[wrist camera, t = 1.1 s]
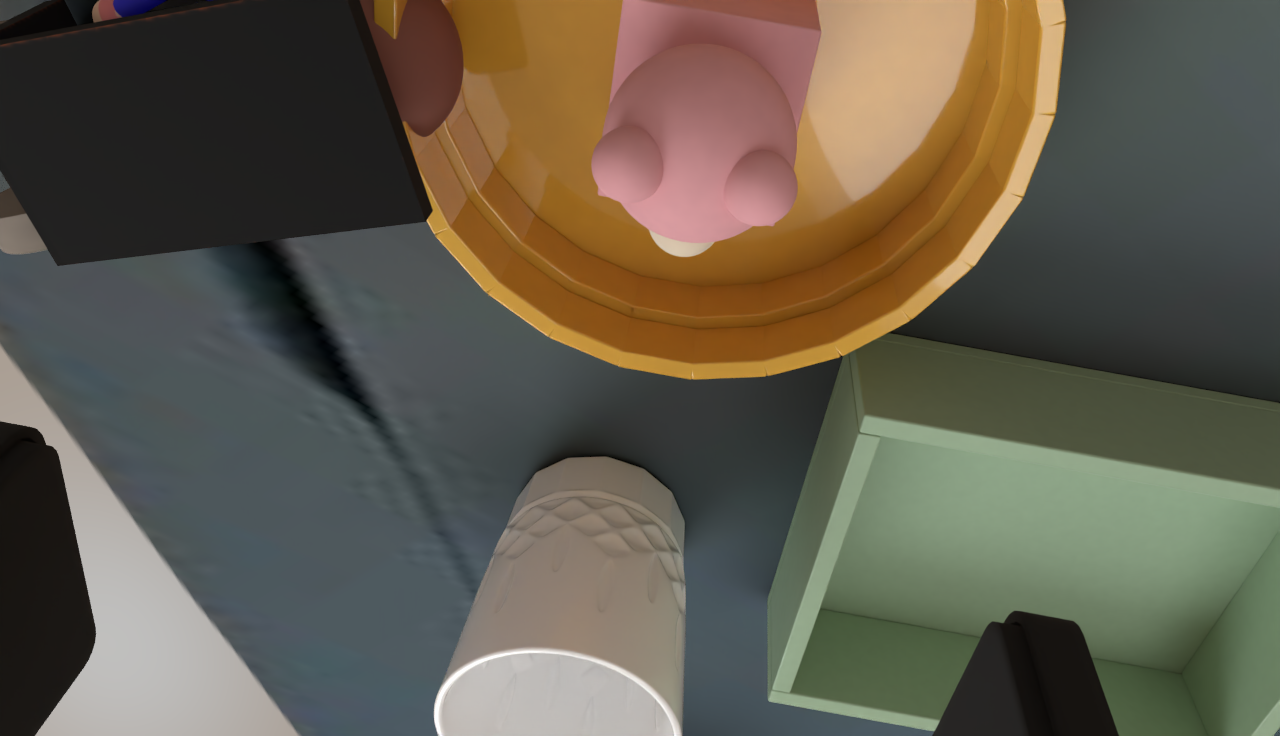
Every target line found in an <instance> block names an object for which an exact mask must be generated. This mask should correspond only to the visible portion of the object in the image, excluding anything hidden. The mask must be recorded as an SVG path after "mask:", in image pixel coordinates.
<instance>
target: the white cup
mask: <svg viewBox="0 0 1280 736" xmlns="http://www.w3.org/2000/svg"><path fill="white" fill-rule="evenodd" d="M684 534H685V521H684V518H683V516H682V514H681V512H680V509H679V507H678V505H677V502H676V500H675V498H674V496H673V493H672V492H671V491H670V490H669V489H668V488H667V487H665V486H664V485H663V484H662V483H661V482H659V481H658V480H657V479H656V478H655V477H653V476H652V475H651V474H650V473H648V472H647V471H646V470H645V469H643V468H640V467H637V466H634V465H631V464H628V463H625V462H622V461H619V460H616V459H613V458H610V457H606V456H603V457H573V458H566V459H564V460H562V461H560V462H558V463H555V464H553V465H551V466H549V467H547V468H545V469H542V470H540V471H538V472H536V473H535V474H534V476H533V477H532V478H531V480H530V481H529V482H528V484H527V485H526V487H525V488H524V489H523V491H522V492H521V493H520V495H519V496H518V498H517V500H516V502H515V505H514V508H513V510H512V513H511V516H510V518H509V521H508V524H507V527H506V529H505V530H504V532H503V534H502V536H501V538H500V540H499V542H498V544H497V546H496V548H495V550H494V553H493V555H492V558H491V561H490V564H489V566H488V568H487V570H486V572H485V574H484V577H483V579H482V581H481V584H480V586H479V589H478V591H477V594H476V596H475V599H474V602H473V604H472V607H471V609H470V612H469V615H468V617H467V620H466V622H465V625H464V628H463V630H462V633H461V635H460V638H459V641H458V643H457V646H456V648H455V651H454V654H453V656H452V659H451V661H450V664H449V666H448V669H447V671H446V674H445V677H444V679H443V682H442V684H441V687H440V689H439V692H438V694H437V697H436V701H435V706H434V721H435V726H436V730H437V733H438V735H439V736H683V699H684V667H685V637H686V615H685V606H686V587H685V586H686V584H685V577H684V569H683V555H684Z"/></svg>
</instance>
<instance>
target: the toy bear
mask: <svg viewBox="0 0 1280 736" xmlns="http://www.w3.org/2000/svg"><path fill="white" fill-rule="evenodd" d="M820 37H821V28H820V22H819V16H818V10H817V4H816V0H623V3H622V10H621V18H620V26H619V33H618V41H617V48H616V56H615V64H614V71H613V79H612V87H611V94H610V102H609V109H608V112H607V114H606V118H605V123H604V128H603V133H602V138H601V139H600V141H599V142H598V144H597V145H596V147H595V149H594V152H593V156H592V163H591V166H592V173H593V177H594V180H595V182H596V184H597V185H598V195H600V196H605V197H610V198H612V199H613V200H616V201H619V202H620V203H621V204H622V206H623V207H624V208H625V209H626V210H627V212H628V213H629V214H630V215H631V216H632V217H633V218H634V219H636V220H637V221H638V222H639V223H640V224H642V225H643V226H645V227H646V228H648V229H649V231H650V234H651V236H652V238H653V240H654V241H655V243H656V244H657V245H658V246H659V247H660V248H661V249H663V250H664V251H665V252H667V253H669V254H672V255H675V256H679V257H690V256H695V255H698V254H700V253H702V252H704V251H706V250H707V249H708V248H709V247H711V246H712V245H713V243H714V242H716V241H720V240H724V239H728V238H731V237H733V236H736V235H738V234H740V233H742V232H744V231H746V230H748V229H749V228H751V227H752V226H766V225H767V226H774V225H775V222H777V221H779V220H780V219H782V218H783V217H784V216H785V215H786V214H787V213H788V212H789V211H790V210H791V208H792V206H793V204H794V202H795V200H796V197H797V190H798V184H797V178H796V174H795V172H794V170H793V169H794V165H795V159H796V153H797V131H798V127H799V123H800V119H801V115H802V111H803V107H804V102H805V98H806V94H807V90H808V86H809V82H810V78H811V74H812V70H813V66H814V61H815V57H816V53H817V49H818V45H819V41H820Z"/></svg>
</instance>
